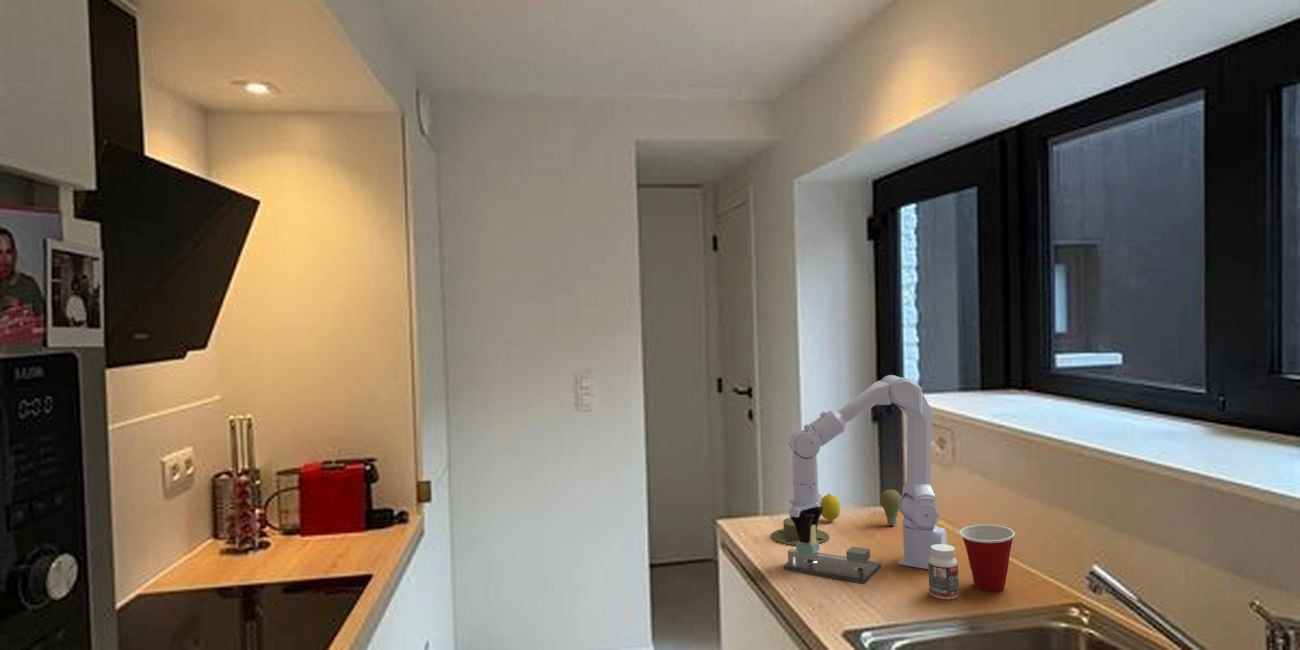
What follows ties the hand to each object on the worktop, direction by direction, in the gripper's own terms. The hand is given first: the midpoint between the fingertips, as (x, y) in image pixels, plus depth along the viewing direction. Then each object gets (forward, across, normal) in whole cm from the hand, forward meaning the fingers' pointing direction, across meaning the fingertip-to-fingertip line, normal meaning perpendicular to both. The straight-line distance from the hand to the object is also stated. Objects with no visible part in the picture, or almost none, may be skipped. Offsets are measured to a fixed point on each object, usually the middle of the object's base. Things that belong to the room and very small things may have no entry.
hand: (807, 540), depth 169 cm
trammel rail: (+5, 0, +5) cm, 7 cm away
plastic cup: (+7, -7, +38) cm, 39 cm away
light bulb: (+7, -41, +8) cm, 42 cm away
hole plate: (+6, -2, +5) cm, 8 cm away
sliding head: (+5, 0, 0) cm, 5 cm away
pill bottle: (+7, +2, +30) cm, 31 cm away
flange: (+7, -20, -10) cm, 24 cm away
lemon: (+7, -37, -8) cm, 39 cm away
